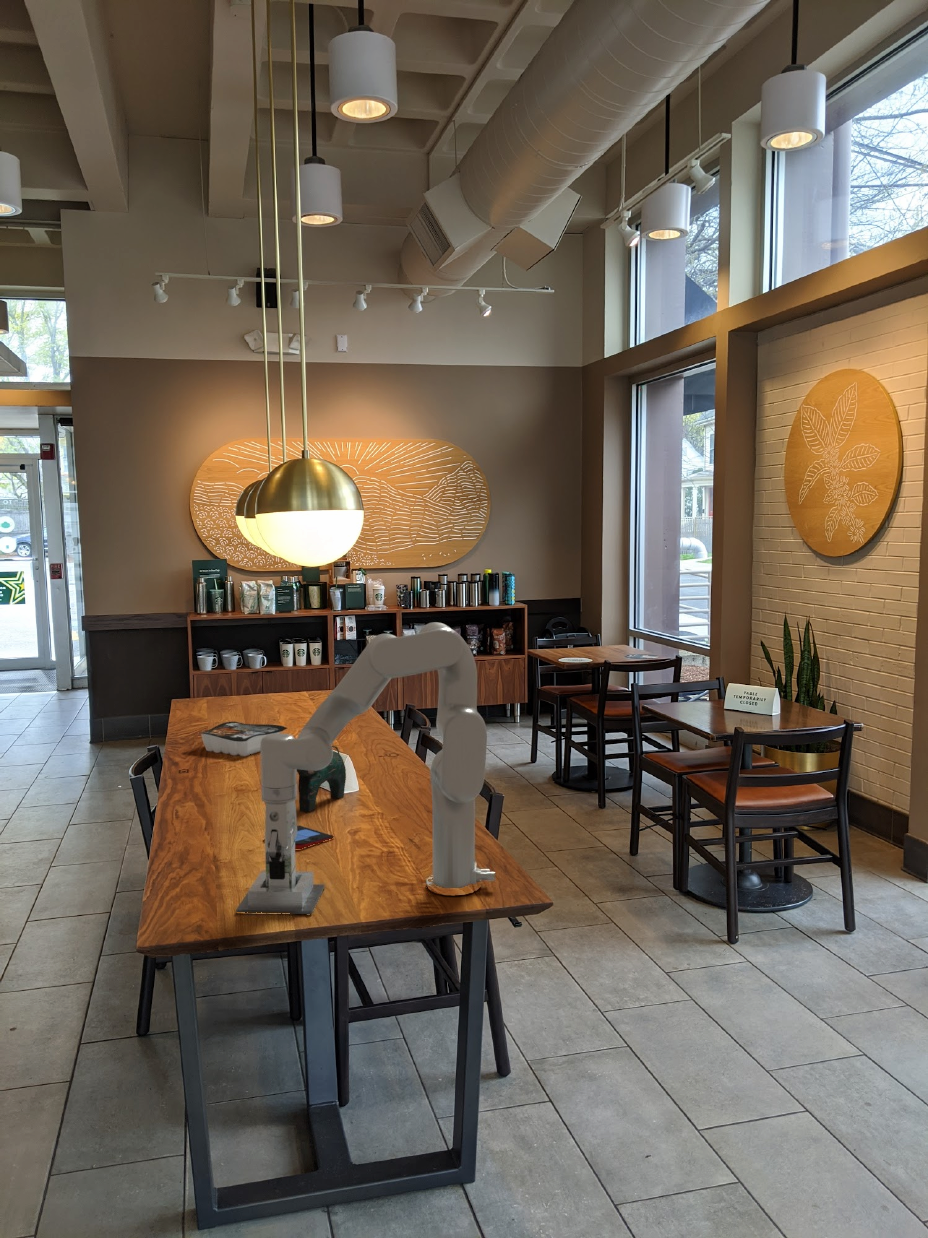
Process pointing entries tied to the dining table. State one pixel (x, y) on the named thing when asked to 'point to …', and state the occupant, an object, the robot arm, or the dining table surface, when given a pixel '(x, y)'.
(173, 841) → the dining table surface
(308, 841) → the game console
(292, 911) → the grey holder base
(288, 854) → the syrup box
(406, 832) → the dining table surface
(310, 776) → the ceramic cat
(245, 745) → the food packaging
